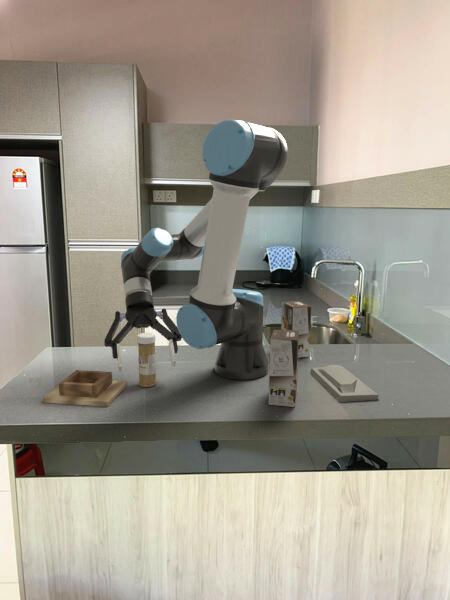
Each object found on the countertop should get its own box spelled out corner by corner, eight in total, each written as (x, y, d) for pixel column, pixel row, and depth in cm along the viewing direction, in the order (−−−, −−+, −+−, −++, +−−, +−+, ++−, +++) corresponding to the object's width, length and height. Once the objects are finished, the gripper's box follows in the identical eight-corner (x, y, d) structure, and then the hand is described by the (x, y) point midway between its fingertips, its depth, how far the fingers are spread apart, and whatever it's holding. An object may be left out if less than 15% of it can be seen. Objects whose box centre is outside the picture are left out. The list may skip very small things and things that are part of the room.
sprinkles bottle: (135, 384, 119) (133, 334, 117) (148, 379, 123) (147, 331, 120) (146, 389, 116) (145, 338, 114) (160, 384, 120) (159, 334, 117)
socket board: (127, 385, 119) (126, 370, 118) (107, 406, 106) (107, 389, 105) (68, 382, 121) (67, 366, 120) (42, 402, 108) (41, 385, 107)
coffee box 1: (310, 357, 142) (312, 306, 139) (291, 358, 140) (292, 307, 137) (297, 348, 151) (299, 300, 147) (279, 350, 149) (280, 301, 146)
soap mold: (338, 404, 109) (339, 390, 108) (309, 375, 128) (309, 363, 128) (378, 401, 111) (379, 388, 110) (344, 373, 130) (344, 361, 129)
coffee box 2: (295, 407, 106) (298, 340, 103) (267, 405, 107) (269, 338, 104) (297, 392, 115) (299, 329, 111) (271, 390, 116) (273, 328, 113)
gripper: (181, 302, 134) (193, 368, 123) (92, 307, 127) (96, 377, 116) (184, 287, 128) (197, 355, 117) (91, 292, 121) (96, 364, 110)
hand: (147, 366), depth 117 cm, fingers open, 13 cm apart
